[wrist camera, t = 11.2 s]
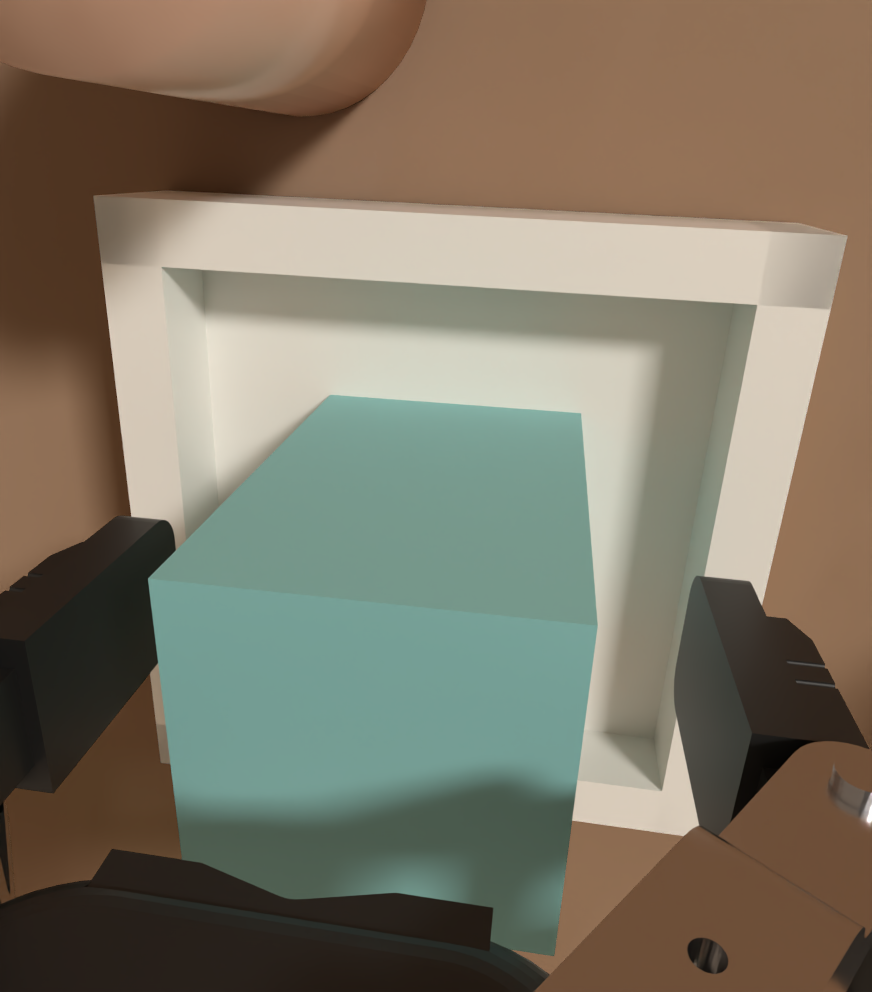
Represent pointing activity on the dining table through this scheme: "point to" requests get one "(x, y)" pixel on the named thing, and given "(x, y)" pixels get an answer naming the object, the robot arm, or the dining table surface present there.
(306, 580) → the teal block
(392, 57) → the peach capsule
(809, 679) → the robot arm
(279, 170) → the dining table surface
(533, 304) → the tray
